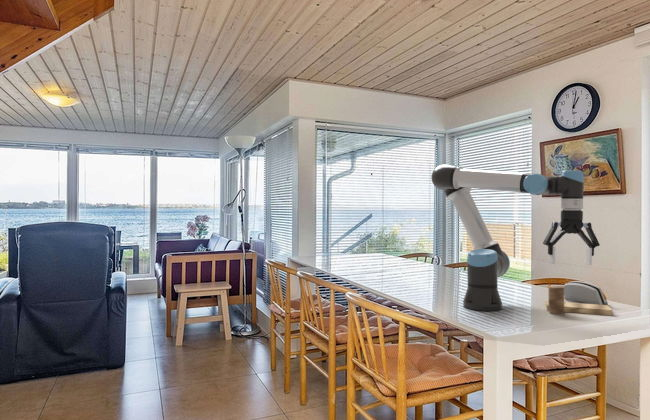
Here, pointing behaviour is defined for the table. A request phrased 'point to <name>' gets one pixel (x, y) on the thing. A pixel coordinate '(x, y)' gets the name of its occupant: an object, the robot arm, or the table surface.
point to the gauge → (556, 299)
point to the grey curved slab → (584, 293)
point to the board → (584, 308)
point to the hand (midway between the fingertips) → (570, 263)
